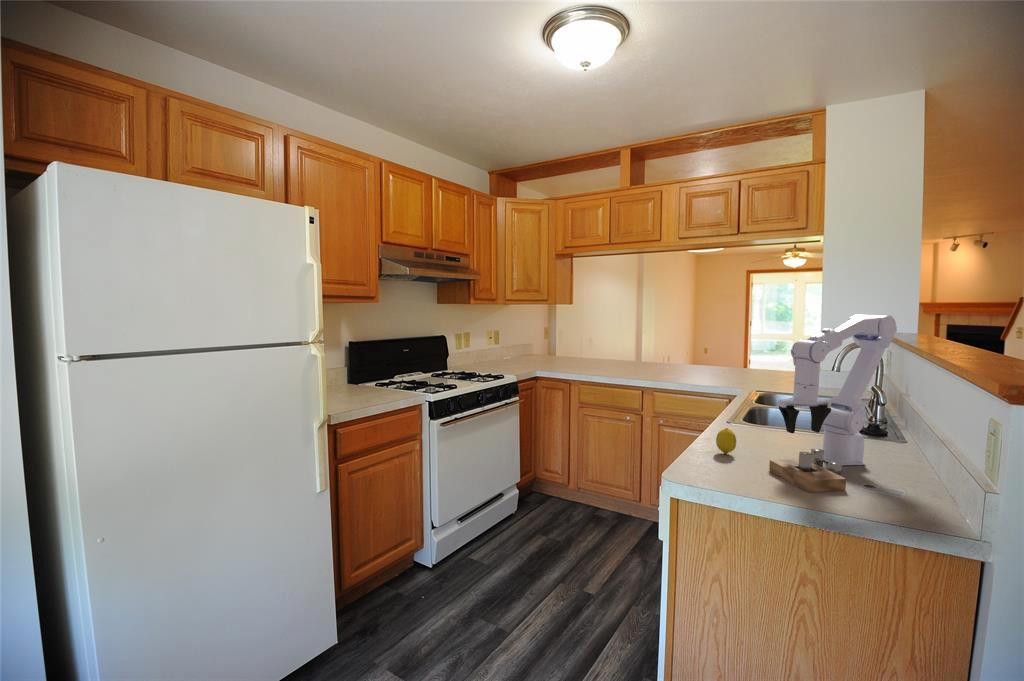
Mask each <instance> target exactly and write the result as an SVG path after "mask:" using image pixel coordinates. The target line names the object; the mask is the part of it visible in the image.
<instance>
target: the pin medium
mask: <svg viewBox="0 0 1024 681" xmlns="http://www.w3.org/2000/svg"><path fill="white" fill-rule="evenodd" d="M810 453H812V454H813V462H812V463H814V464H816V465H818V466H820V467H822V468H824V450H823V448H822V449H821V448H817V447H814V448H813V447H812V448H810Z"/></svg>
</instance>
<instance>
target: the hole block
mask: <svg viewBox="0 0 1024 681" xmlns="http://www.w3.org/2000/svg"><path fill="white" fill-rule="evenodd" d="M798 463H799V458H792V459H785V458H784V459H769V466H768V467H769V469H768V471H769V470H770V471H772V472H773V473H772V472H771V473H772V474H774V473H775V474H774V475H776V474H777V476H778V475H779V476H780V478H781V477H782V478H781V479H783V478H784V479H783V480H785V481H787V482H789V483H790V482H791V483H790V484H792V483H793V485H795V487H798V488H799V487H800V489H801V488H802V489H801V490H803V491H805V492H806V493H820V492H824V491H825V492H841V491H846V488H847V486H846V485H847V477H844V476H842V475H841V476H840V475H837V474H835V473H833V472H831V471H829V470H827V469H828V468H827V469H826V468H824V467H823V468H822V467H820V466H818V465H816V464H814V463H812V472H804V471H802V470H800V469H798ZM770 471H769V472H770ZM779 476H778V477H779Z"/></svg>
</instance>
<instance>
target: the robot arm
mask: <svg viewBox="0 0 1024 681" xmlns="http://www.w3.org/2000/svg"><path fill="white" fill-rule="evenodd" d="M897 331H898V329H897V322H896V320H895V318H894V317H893V315H890V314H889V315H888V314H886V315H883V314H882V315H878V314H860V313H859V314H858V313H855V314H854V315H852V316H849V317H848V319H847V321H845V323H842V324H841V325H839V326H838V327H836V328H835V329H833V328H825V327H824V328H823V329H821V332H819V333H816V334H815V335H810V337H809V338H807V339H799V340H797V341H795V342H794V343H793V345H792V347H791V349H790V355H791V357H792V360H793V361H792V363H793V364H792V365H793V366H794V379H793V395H792V396H791V397H787V398H779V399H778V403H777V404H778V405H777V406H778V410H779V411H780V414H781V415H782V417H783V420H784V425H785V431H786V432H787V433H790V434H795V431H796V423H797V419H798V416H799V413H800V410H799V409H796V407H798V408H799V407H800V408H801V407H809V410H810V417H811V418H810V421H811V422H810V426H811V427H810V428H811V429H810V430H811V431H812V432H814V433H820V432H821V429H823V439H822V440H823V442H822V443H823V444H822V450H824V460H823V462H826V463H828V461H835V462H839V463H841V464H842V467H843V466H862V465H863V466H864V465H866V462H864V451H865V439H864V437H863V434H862V433H860V431H861V430H862V429H863V427H864V425H865V418H866V415H867V411H866V409H865V408H864V407H863V406H862V404H861V401H862V399H863V397H864V394H865V393H866V390H867V389H868V386H869V384H870V382H871V380H872V378H873V376H874V374H875V372H876V370H877V368H878V366H879V364H880V362H881V359H882V358H883V356H884V354H885V351H886V350H887V348H889V347H890V346H891V343H892V341H893V339H894V337H895V335H896V333H897ZM851 337H852V339H853V341H854V344H855V345H856V346H858V347H860V351H859V352H858V355H857V357H856V358H855V361H854V363H853V365H852V367H851V369H850V371H849V373H848V375H847V377H846V378H845V381H844V383H843V385H842V387H841V389H840V391H839V393H838V395H835V396H834V397H829V398H826V397H819V387H820V386H819V384H820V374H821V373H820V372H821V362H824V360H825V359H826V357H827V355H828V354H829V353H830V352H833V351H834V350H836V349H838V348H840V347H841V346H842V345H843V341H844V340H847V339H849V338H851Z"/></svg>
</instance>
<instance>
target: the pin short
mask: <svg viewBox="0 0 1024 681" xmlns="http://www.w3.org/2000/svg"><path fill="white" fill-rule="evenodd" d="M842 468H843V466H842V464H841V463H839V462H835V461H828V462H827V470H829V471H831V472H833V473H835V474H837V475H840V476H842Z"/></svg>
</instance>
